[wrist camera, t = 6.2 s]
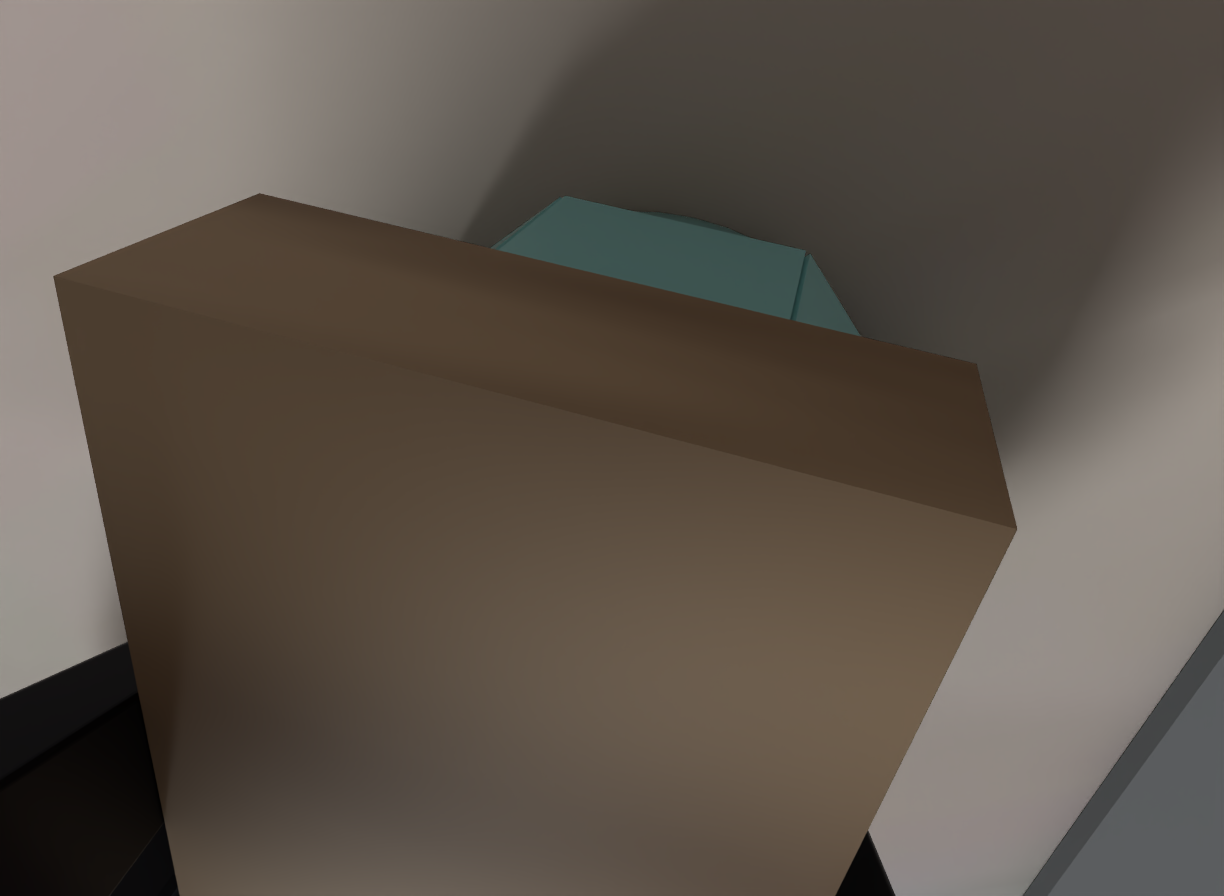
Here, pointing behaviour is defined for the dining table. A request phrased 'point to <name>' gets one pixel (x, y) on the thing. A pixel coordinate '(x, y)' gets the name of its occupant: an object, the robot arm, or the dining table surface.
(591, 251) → the bowl
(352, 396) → the board
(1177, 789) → the mat
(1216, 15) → the dining table surface
